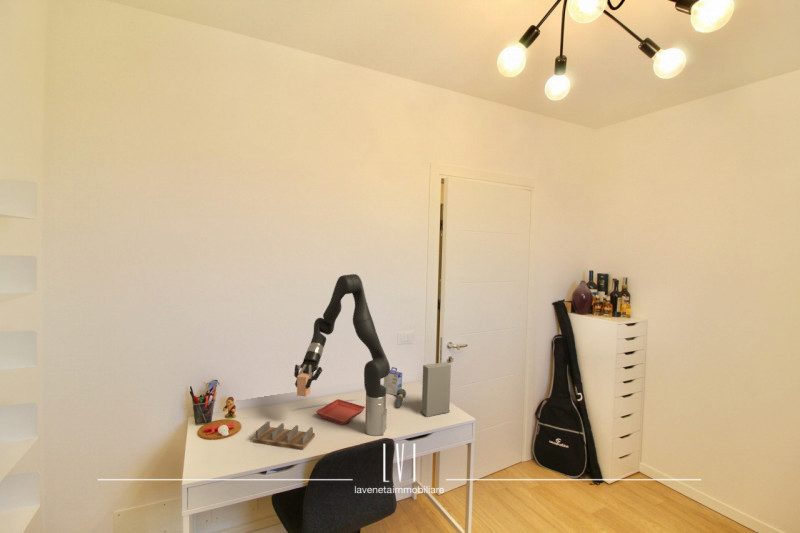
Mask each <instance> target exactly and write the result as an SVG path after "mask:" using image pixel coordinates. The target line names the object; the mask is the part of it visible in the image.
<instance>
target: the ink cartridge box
mask: <svg viewBox="0 0 800 533" xmlns="http://www.w3.org/2000/svg"><path fill="white" fill-rule="evenodd" d="M397 370H398V368H397V367H394V366H392V367H391V368H390V372H389V374H388V376H386V377H384V378H383V386H384V387H385V388H386V394H389V395H393V396H397V397H398V395H397V392H398V390H399V389H403V387H402V386H403V372H400V371H397Z"/></svg>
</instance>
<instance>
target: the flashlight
mask: <svg viewBox="0 0 800 533" xmlns="http://www.w3.org/2000/svg"><path fill="white" fill-rule="evenodd" d="M406 395H407V391H406V390H405V389H403V388H402V389H399V390H398V392H397V397H396V400H395V407H396V408H401V406H402V404H403V402H404V398H406Z"/></svg>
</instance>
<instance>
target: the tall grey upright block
mask: <svg viewBox="0 0 800 533" xmlns="http://www.w3.org/2000/svg"><path fill="white" fill-rule="evenodd" d="M451 367H452V364H450V363H448V362H446V361H445V362H438V363H437V362H436V363H430V364H429V363H428V364H423V365H422V390H421V393H422V394H421V409H420V413H422V415H424V416H425V417H426V418H428V417H432V416H437V415H442V414H448V413H450V411H451V410H450V405H451V403H450V402H451V372H452V368H451Z"/></svg>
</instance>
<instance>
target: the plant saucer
mask: <svg viewBox="0 0 800 533" xmlns="http://www.w3.org/2000/svg"><path fill="white" fill-rule="evenodd" d="M365 409H366V406H364V405H360V404H356V403H354V402H349V401H347V400H343V399H339V398H338V399H335V400H334V401H332V402H330V403H328V404H327V405H324V406H323V407H321V408H319V409H318V410H316V411H315V413H316V414H317V415H318V416H319V417H320V418H323V419H326V420H328V421H331V422H334V423H338V424H341V425H345V424H347V423H348V422H349V421H352V420H353V419H354V418H356V417H357V416H358V415H360V414H361V413H362V412H363V411H364V410H365Z"/></svg>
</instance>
